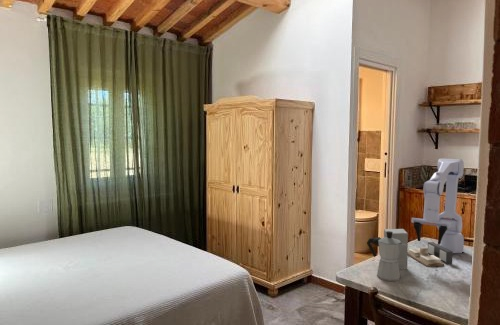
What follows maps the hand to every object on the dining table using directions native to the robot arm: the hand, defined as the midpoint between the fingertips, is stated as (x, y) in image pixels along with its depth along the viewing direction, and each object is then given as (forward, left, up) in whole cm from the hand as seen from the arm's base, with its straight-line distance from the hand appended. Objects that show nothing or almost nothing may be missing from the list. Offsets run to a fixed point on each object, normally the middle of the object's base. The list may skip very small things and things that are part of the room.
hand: (428, 242), depth 155 cm
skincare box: (+14, -2, -11) cm, 17 cm away
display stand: (-4, -10, -11) cm, 15 cm away
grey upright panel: (-11, -10, -11) cm, 18 cm away
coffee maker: (+22, +7, -11) cm, 26 cm away
